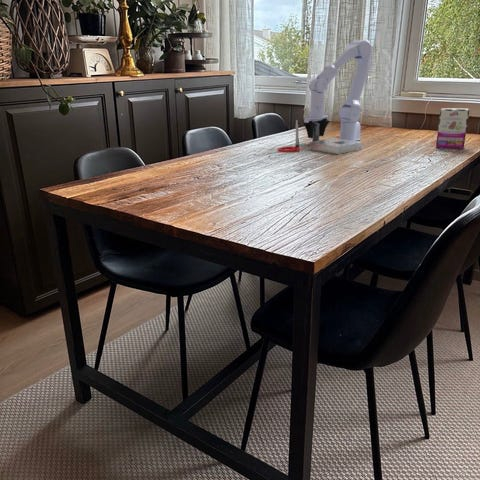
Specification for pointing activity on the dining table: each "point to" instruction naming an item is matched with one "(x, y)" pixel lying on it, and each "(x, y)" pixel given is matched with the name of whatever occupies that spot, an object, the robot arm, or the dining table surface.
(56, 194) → the dining table surface
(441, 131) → the candy bar box
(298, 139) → the tow hook
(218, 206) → the dining table surface
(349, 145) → the bore block
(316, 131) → the pin
